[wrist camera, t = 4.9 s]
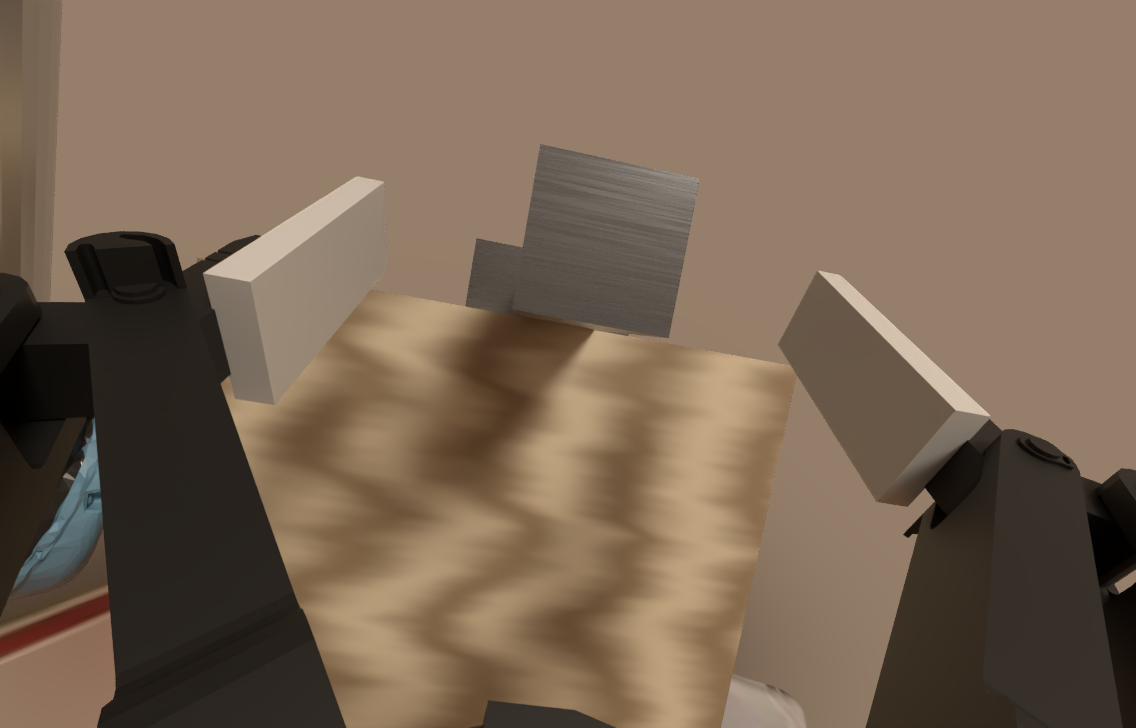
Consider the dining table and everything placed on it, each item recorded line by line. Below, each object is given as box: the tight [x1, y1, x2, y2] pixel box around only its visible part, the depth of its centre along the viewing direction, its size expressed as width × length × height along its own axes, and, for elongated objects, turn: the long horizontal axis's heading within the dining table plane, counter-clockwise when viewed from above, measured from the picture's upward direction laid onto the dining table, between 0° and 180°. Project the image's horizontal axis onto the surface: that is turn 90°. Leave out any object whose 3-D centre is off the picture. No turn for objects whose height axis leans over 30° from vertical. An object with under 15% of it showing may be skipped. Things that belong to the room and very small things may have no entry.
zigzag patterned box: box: [197, 258, 797, 728], centre depth 33 cm, size 28×20×30 cm
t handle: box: [465, 144, 699, 338], centre depth 25 cm, size 12×30×5 cm, turn 5°
